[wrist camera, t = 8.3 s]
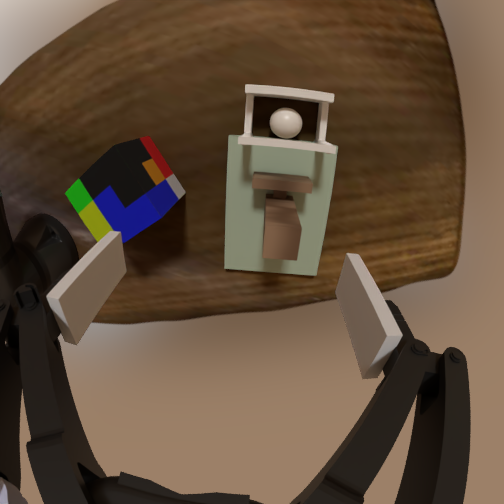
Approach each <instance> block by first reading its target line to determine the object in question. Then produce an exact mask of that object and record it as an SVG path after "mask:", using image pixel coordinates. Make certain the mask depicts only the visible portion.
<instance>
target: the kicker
mask: <svg viewBox="0 0 504 504" xmlns="http://www.w3.org/2000/svg"><path fill="white" fill-rule="evenodd" d="M312 187H313V183H312V182H311V180H310V178H309V177H308V176H300V175H290V174H280V173H268V172H256V171H254V174H253V178H252V188H256V189H269V190H274V191H273V194H266V199H265V211H264V229H263V254H262V258H269V259H282V260H294V261H297V258H298V251H299V245H300V239H301V232H302V227H301V224H300V220H299V216H298V213H297V209H296V206H295V203H294V199H293V196H289V195H287V191H291V192H301V193H310V194H312Z"/></svg>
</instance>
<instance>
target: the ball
mask: <svg viewBox="0 0 504 504" xmlns="http://www.w3.org/2000/svg"><path fill="white" fill-rule="evenodd" d="M270 127H271V130H272V131H273V133H274V134H275V135H277V136H278V137H280V138H285V139H288V138H292V137H294V136H296V135H297V134H298V133H299V132H300V131H301V128H302V119H301V117H300V115H299V114H298V113H297V112H296V111H295V110H293V109H291V108H280V109H278V110H276V111H275V112H274V113H273V114H272V116H271V118H270Z"/></svg>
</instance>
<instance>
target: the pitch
mask: <svg viewBox="0 0 504 504" xmlns="http://www.w3.org/2000/svg"><path fill="white" fill-rule="evenodd" d="M245 93H246V94H247V97H246V113H245V128H244V134H243V135H229V141H228V163H227V189H226V221H225V269H236V270H248V271H261V272H273V273H286V274H300V275H314V276H316V274H317V269H318V264H319V259H320V254H321V249H322V244H323V239H324V234H325V228H326V222H327V217H328V211H329V205H330V199H331V193H332V186H333V180H334V173H335V166H336V158H337V151H338V146H336V145H332V144H330V143H328V142H326V141H325V136H326V127H327V117H328V106H329V103H332V102H334V94H331V93H325V92H319V91H312V90H305V89H297V88H288V87H278V86H265V85H248V84H246V86H245ZM254 96H260V97H273V98H284V99H294V100H302V101H309V102H316V103H319V108H318V119H317V129H316V139H315V140H314V142H309V141H301V140H292V139H282V138H271V137H258V136H253V134H252V122H253V107H254ZM254 171H256V172H268V173H280V174H290V175H300V176H308V177H309V178H310V180H311V182H312V183H313V187H312V194H310V193H301V192H291V191H287V195H289V196H293V199H294V203H295V206H296V209H297V213H298V216H299V220H300V224H301V227H302V232H301V239H300V245H299V251H298V258H297V261H294V260H282V259H269V258H262V254H263V229H264V211H265V199H266V194H273V191H274V190H269V189H256V188H252V178H253V174H254Z"/></svg>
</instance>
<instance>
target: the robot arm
mask: <svg viewBox="0 0 504 504" xmlns="http://www.w3.org/2000/svg"><path fill="white" fill-rule="evenodd" d="M125 273H126V265H125V259H124V252H123V245H122V237H121V232H117V231H110V232H108V233H107V234H106V235H105V236H104V237H103V238H102V239H101V240H100V241H99V242H98V243H97V244H96V245H95V246H94V247H93V248H92V249H91V250H90V251H88V252H87V253H86V254H85V255H84V256H83V257H82V258H81V259H80V260H79V261H78V254H77V250H76V247H75V244H74V242H73V239H72V238H71V236H70V234H69V232H68V231H67V230H66V228H65V227H64V226H63V225H62V224H61V223H60V222H59V221H58V220H57V219H55V218H54V217H52V216H50V215H47V214H38V215H36V216H34V217H33V218H31V219H30V220H28V221H27V222H26V223H25V225H24V226H23V228H22V229H21V231H20V232H19V234H18V235H17V237H16V238H15V240H14V241H12V237H11V234H10V230H9V227H8V223H7V219H6V214H5V210H4V205H3V200H2V193H1V191H0V504H28V502H27V501H26V499H25V498H23V497H22V494H21V493H20V483H21V482H20V481H21V468H20V444H19V443H20V442H19V433H20V408H21V395H22V389H23V396H24V403H25V409H26V415H27V421H28V425H29V430H30V435H31V441H29V442H27V445H26V447H27V453H28V457H29V461H30V464H31V468H32V471H33V474H34V477H35V480H36V483H37V486H38V489H39V492H40V494H41V497H42V500H43V502H44V504H262V503H259V502H257V501H254V500H250V499H249V498H250V495H240V494H239V495H238V494H227V493H217V492H216V493H204V494H184V495H183V494H179V493H176V492H174V491H172V490H170V489H167V488H165V487H163V486H161V485H159V484H157V483H154V482H153V481H151V480H148V479H144V478H140V477H136V476H133V475H130V474H127V473H124V472H121V473H120V476H110V477H107V476H106V474H105V473H104V471H103V469H102V468H101V467H100V465H99V464H98V463H97V461H96V459H95V457H94V455H93V452H92V450H91V448H90V445H89V443H88V440H87V438H86V435H85V432H84V430H83V427H82V424H81V421H80V419H79V416H78V412H77V410H76V406H75V403H74V400H73V397H72V393H71V389H70V386H69V382H68V378H67V374H66V370H65V366H64V361H63V356H62V351H61V346H60V342H59V340H58V336H59V335H60V333H61V334H62V336H63V338H64V340H65V342H68V343H71V344H75V345H77V344H78V343H79V341H80V339H81V338H82V336H83V335H84V333H85V331H86V330H87V328H88V327H89V325H90V324H91V322H92V320H93V319H94V317H95V316H96V314H97V313H98V311H99V310H100V308H101V307H102V305H103V304H104V303H105V301H106V300H107V298H108V297H109V295H110V294H111V292H112V291H113V290H114V288H115V287H116V285H117V284H118V282H119V281H120V280H121V278H122V277H123V276H124V274H125ZM335 293H336V296H337V299H338V302H339V305H340V308H341V311H342V314H343V317H344V320H345V323H346V326H347V329H348V332H349V335H350V338H351V342H352V345H353V348H354V351H355V355H356V358H357V361H358V365H359V368H360V372H361V375H362V378H363V379H369V378H378V376H379V374H380V373H381V371H382V370H383V372H384V375H385V377H384V379H383V380H382V381H381V383H380V384H379V386H378V387H377V389H376V392H375V394H374V396H373V397H372V399H371V401H370V402H369V404H368V405H367V407H366V409H365V410H364V412H363V413H362V415H361V416H360V418H359V420H358V421H357V423H356V424H355V425H354V427H353V428H352V430H351V431H350V433H349V434H348V436H347V437H346V438H345V440H344V441H343V443H342V444H341V445H340V447H339V448H338V449H337V451H336V452H335V453H334V455H333V456H332V457H331V459H330V460H329V461H328V462H327V463H326V465H325V466H324V467H323V468H322V470H321V471H320V472H319V473H318V474H317V476H316V477H315V478H314V479H313V480H312V481H311V482H310V484H309V485H308V486H307V487H306V488H305V489H304V490H303V492H301V493H300V494H299V495H298V496H297V497H296V498H295V499H294V500H293V501H292V502H291V503H290V504H363V502H364V497H363V496H364V494H365V492H366V491H367V489H368V488H369V486H370V485H371V483H372V481H373V480H374V478H375V477H376V475H377V473H378V472H379V470H380V468H381V467H382V465H383V463H384V461H385V460H386V458H387V456H388V454H389V452H390V451H391V449H392V447H393V445H394V443H395V441H396V439H397V437H398V435H399V433H400V431H401V429H402V427H403V425H404V423H405V421H406V419H407V416H408V414H409V412H410V410H411V407H412V405H413V402H414V400H415V398H416V395H417V400H416V409H415V417H414V423H413V429H412V435H411V442H410V446H409V451H408V456H407V460H406V465H405V469H404V473H403V477H402V480H401V484H400V488H399V491H398V494H397V498H396V501H395V504H463V500H464V494H465V489H466V482H467V474H468V465H469V452H470V394H469V380H468V369H467V361H466V358H465V355H464V354H463V353H462V352H461V351H460V350H459V349H457V348H454V347H449V348H447V349H446V350H445V351H444V353H443V354H438V353H434V352H430V349H429V347H428V346H427V345H426V344H425V343H424V342H422V341H420V340H417V339H415V338H414V336H413V334H412V332H411V331H410V329H409V327H408V325H407V323H406V321H404V318H403V316H402V315H401V312H400V310H399V309H398V307H397V306H396V305H395V304H394V303H393V302H392V301H390V300H384V298H383V296H382V294H381V293H380V291H379V289H378V287H377V285H376V284H375V282H374V280H373V278H372V276H371V275H370V273H369V271H368V269H367V268H366V266H365V264H364V263H363V261H362V259H361V258H360V256H359V254H350V253H346V257H345V261H344V264H343V268H342V271H341V275H340V278H339V281H338V285H337V288H336V291H335ZM5 341H6V344H5Z"/></svg>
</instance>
